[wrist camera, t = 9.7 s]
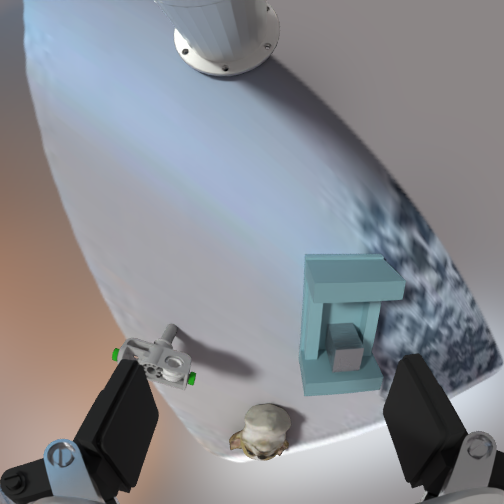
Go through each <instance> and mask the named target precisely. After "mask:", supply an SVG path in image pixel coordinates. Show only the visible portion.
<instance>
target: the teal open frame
mask: <svg viewBox="0 0 504 504" xmlns="http://www.w3.org/2000/svg"><path fill="white" fill-rule="evenodd" d="M405 283H406V281H405V280H404V279H403V278H402V277H401V276H400V275H399V274H398V273H397V272H396V271H395V270H394V269H393V268H392V267H391V266H390V265H389V264H388V263H387V262H386V261H385V260H384V257H383V256H382V255H381V254H305V269H304V290H303V308H302V324H301V338H300V351H299V364H300V368H301V375H302V382H303V390H304V396H316V395H332V394H344V393H354V392H364V391H372V390H380V387H381V384H382V380H383V375H382V373H381V371H380V369H379V366H378V364H377V362H376V360H375V358H374V356H373V354H372V347H373V343H374V338H375V333H376V328H377V323H378V318H379V312H380V307H381V301H388V300H402V299H403V294H404V288H405ZM335 323H353V325H354V327H355V329H356V331H357V334H358V336H359V338H360V340H361V342H362V344H363V347H364V351H363V356H362V361H361V365H360V369H359V371H347V372H333V373H332V370H331V366H330V362H329V359H328V355H327V352H326V348H325V339H326V331H327V324H335Z"/></svg>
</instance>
